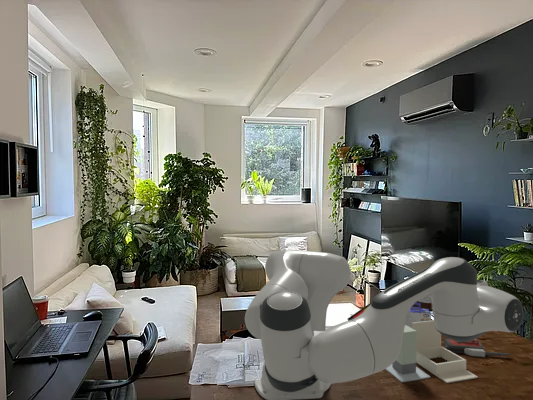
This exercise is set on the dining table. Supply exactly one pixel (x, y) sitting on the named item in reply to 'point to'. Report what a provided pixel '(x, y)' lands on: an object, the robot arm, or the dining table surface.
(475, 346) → the walkie-talkie
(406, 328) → the box
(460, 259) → the robot arm
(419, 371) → the mat
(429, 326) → the carton
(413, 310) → the ink cartridge box
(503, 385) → the dining table surface
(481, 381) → the dining table surface
